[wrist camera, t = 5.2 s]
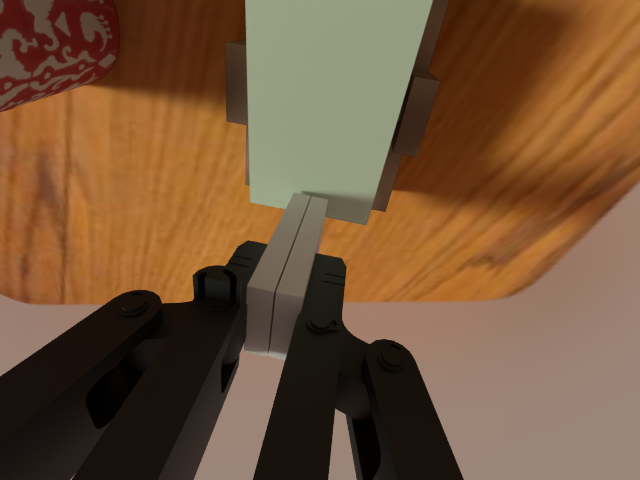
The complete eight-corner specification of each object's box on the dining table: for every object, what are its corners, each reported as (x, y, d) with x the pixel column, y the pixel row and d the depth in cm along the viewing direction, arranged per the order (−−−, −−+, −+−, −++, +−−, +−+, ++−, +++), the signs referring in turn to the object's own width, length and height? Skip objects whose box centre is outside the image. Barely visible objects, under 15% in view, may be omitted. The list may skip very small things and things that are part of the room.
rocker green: (262, -51, 11) (244, -51, 9) (431, -22, 11) (437, -17, 9) (261, 181, 17) (250, 202, 15) (367, 201, 17) (366, 225, 15)
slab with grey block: (266, -66, 15) (223, -105, 10) (451, -34, 14) (486, -59, 10) (257, 165, 21) (227, 201, 16) (386, 190, 21) (390, 233, 16)
